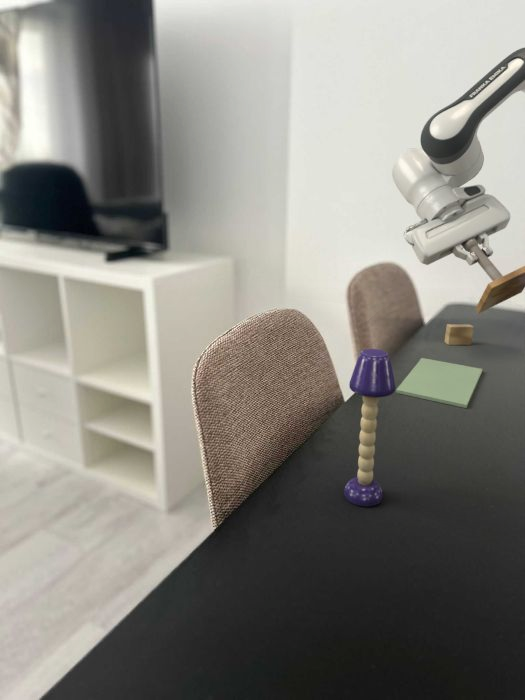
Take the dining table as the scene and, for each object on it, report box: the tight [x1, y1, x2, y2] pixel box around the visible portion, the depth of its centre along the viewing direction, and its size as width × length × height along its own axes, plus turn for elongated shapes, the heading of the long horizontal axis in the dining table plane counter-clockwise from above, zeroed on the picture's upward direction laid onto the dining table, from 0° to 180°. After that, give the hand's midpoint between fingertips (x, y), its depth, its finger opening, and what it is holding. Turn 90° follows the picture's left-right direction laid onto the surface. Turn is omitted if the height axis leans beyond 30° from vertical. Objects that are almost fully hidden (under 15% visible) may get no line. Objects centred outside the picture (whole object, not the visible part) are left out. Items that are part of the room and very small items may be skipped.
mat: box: [395, 357, 484, 409], centre depth 89 cm, size 18×11×1 cm, turn 151°
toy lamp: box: [343, 348, 396, 508], centre depth 54 cm, size 5×5×17 cm
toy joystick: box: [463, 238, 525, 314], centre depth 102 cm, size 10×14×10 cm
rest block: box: [443, 323, 475, 346], centre depth 109 cm, size 5×2×4 cm, turn 94°
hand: (482, 258), depth 102 cm, fingers closed on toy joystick
